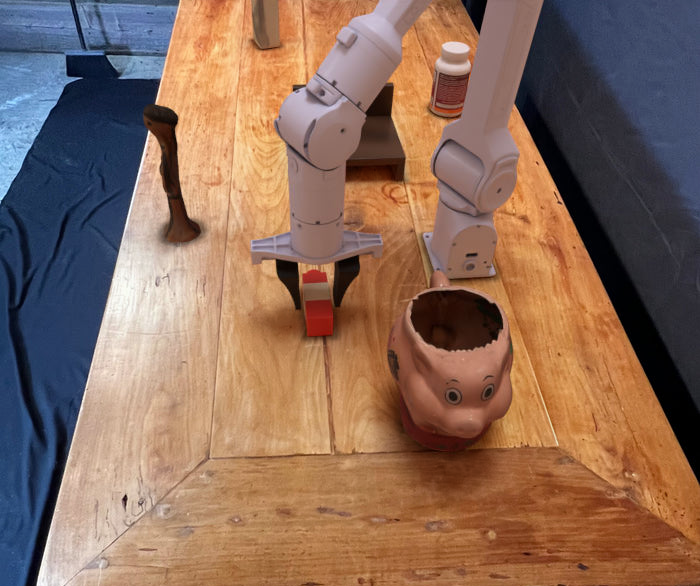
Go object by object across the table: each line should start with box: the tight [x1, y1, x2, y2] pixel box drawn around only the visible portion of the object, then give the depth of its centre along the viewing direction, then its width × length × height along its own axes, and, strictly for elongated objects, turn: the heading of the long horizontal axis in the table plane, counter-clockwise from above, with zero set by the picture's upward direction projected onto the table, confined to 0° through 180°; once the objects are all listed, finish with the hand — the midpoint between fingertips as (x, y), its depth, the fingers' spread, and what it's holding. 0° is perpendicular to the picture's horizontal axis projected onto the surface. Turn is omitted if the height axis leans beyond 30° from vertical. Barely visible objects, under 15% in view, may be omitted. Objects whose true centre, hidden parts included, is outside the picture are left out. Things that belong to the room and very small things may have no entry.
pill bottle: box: [429, 41, 472, 118], centre depth 109 cm, size 6×6×11 cm
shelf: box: [291, 82, 407, 181], centre depth 97 cm, size 14×16×9 cm
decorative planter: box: [386, 270, 514, 452], centre depth 63 cm, size 20×12×14 cm, turn 10°
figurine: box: [142, 102, 202, 243], centre depth 80 cm, size 7×5×18 cm
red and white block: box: [301, 268, 334, 337], centre depth 76 cm, size 9×3×3 cm, turn 7°
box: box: [250, 0, 281, 50], centre depth 125 cm, size 5×4×13 cm
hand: (317, 303), depth 75 cm, fingers open, 4 cm apart
